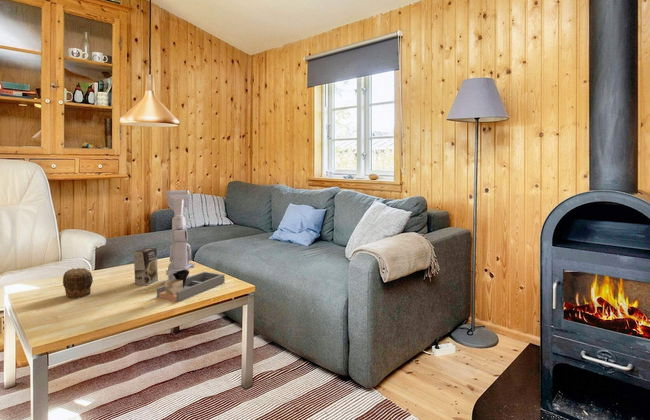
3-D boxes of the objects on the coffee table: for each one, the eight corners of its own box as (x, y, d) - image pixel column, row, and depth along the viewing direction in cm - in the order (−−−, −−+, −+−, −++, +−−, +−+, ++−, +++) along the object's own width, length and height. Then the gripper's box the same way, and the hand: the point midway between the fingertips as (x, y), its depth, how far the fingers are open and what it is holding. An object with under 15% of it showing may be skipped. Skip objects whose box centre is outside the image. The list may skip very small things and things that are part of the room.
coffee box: (146, 286, 188) (145, 252, 186) (134, 285, 190) (132, 251, 188) (158, 280, 197) (157, 247, 195) (146, 279, 199) (145, 247, 197)
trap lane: (157, 297, 173) (156, 288, 173) (204, 279, 199) (204, 271, 199) (178, 301, 168) (178, 292, 167) (224, 282, 194) (224, 274, 194)
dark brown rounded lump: (62, 301, 167) (60, 273, 166) (65, 293, 177) (63, 266, 176) (93, 297, 172) (91, 270, 171) (94, 290, 182) (92, 264, 181)
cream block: (165, 293, 172) (164, 281, 172) (174, 289, 177) (173, 278, 176) (174, 295, 170) (173, 283, 170) (183, 291, 175) (182, 280, 174)
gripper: (174, 261, 167) (175, 293, 169) (199, 254, 180) (200, 284, 182) (161, 259, 170) (163, 291, 172) (187, 252, 183) (188, 282, 185)
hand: (181, 287), depth 177 cm, fingers closed
